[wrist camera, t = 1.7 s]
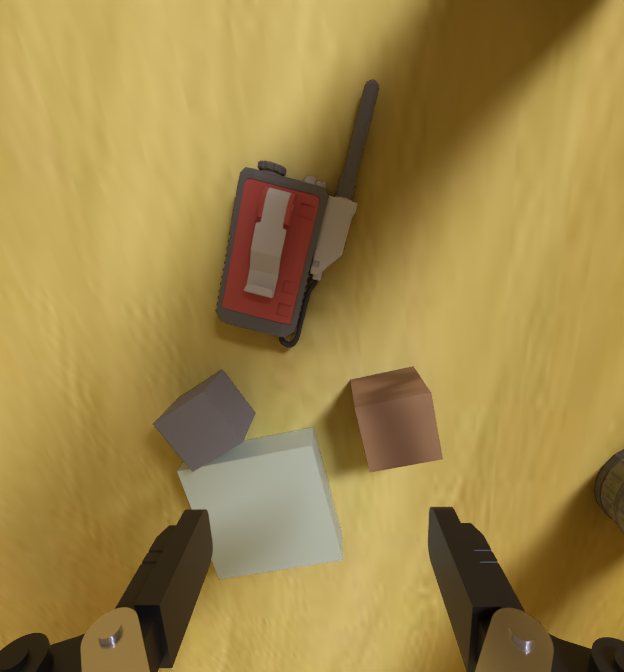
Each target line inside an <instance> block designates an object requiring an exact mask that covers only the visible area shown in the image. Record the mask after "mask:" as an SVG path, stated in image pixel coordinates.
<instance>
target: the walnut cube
mask: <svg viewBox="0 0 624 672" xmlns="http://www.w3.org/2000/svg"><path fill="white" fill-rule="evenodd" d="M350 381H351V387H352V394H353V401H354V407H355V412H356V416H357V420H358V424H359V429H360V433H361V437H362V441H363V445H364V450H365V454H366V458H367V462H368V467H369V471H370V472H374V471H380V470H385V469H391V468H397V467H402V466H408V465H413V464H419V463H424V462H430V461H435V460H441V459H443V458H442V452H441V446H440V441H439V435H438V429H437V424H436V418H435V412H434V407H433V401H432V395H431V392H430V390H429V389H428V387H427V386H426V384H425V383H424V381H423V380H422V378H421V377H420V375H419V374H418V373H417V371H416V370H415V368H414V367H408V368H404V369H399V370H394V371H390V372H385V373H380V374H375V375H371V376H366V377H361V378H356V379H352V380H350Z"/></svg>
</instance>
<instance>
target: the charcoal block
mask: <svg viewBox="0 0 624 672" xmlns="http://www.w3.org/2000/svg"><path fill="white" fill-rule="evenodd" d="M254 415H255V411H254V410H253V409H252V407H251V406H250V405H249V404H248V402H247V401H246V400H245V398H244V397H243V396H242V394H241V393H240V392H239V390H238V389H237V388H236V386H235V385H234V384H233V382H232V381H231V380H230V378H229V377H228V376H227V374H226V373H225V372H224V371H223V369H222V370H220V371H219V372H217V373H216V374H214V375H213V376H211V377H210V378H208V379H207V380H205V381H203V382H202V383H200V384H199V385H197V386H196V387H194V388H193V389H191V390H190V391H188V392H186V393H185V394H183V395H182V396H180V397H179V398H178V399H177V400H176V401H175V402H174V403H173V404H172V405H171V406H170V407H169V408H168V409H167V410H166V411H165V412H164V413H163V414H162V415H161V416H160V417H159V418H158V419H157V420H156V421H155V422H154V423H153V425H154V426H155V427H156V429H157V430H158V431H159V432H160V433H161V435H162V436H163V437H164V438H165V439H166V441H167V442H168V443H169V444H170V445H171V447H172V448H173V449H174V450H175V451H176V453H177V454H178V455H179V456H180V457H181V459H182V460H183V461H184V462H185V463H186V465H187V466H188V467H189V468H190V469H191V471H192V472H194V471H195V470H197V469H199V468H200V467H202V466H204V465H205V464H207V463H209V462H211V461H212V460H214V459H216V458H217V457H219V456H221V455H222V454H224V453H226V452H227V451H229V450H231V449H233V448H234V447H236V446H238V445H239V444H241V443H243V440H244V438H245V436H246V434H247V431H248V429H249V427H250V424H251V422H252V420H253V418H254Z"/></svg>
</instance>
